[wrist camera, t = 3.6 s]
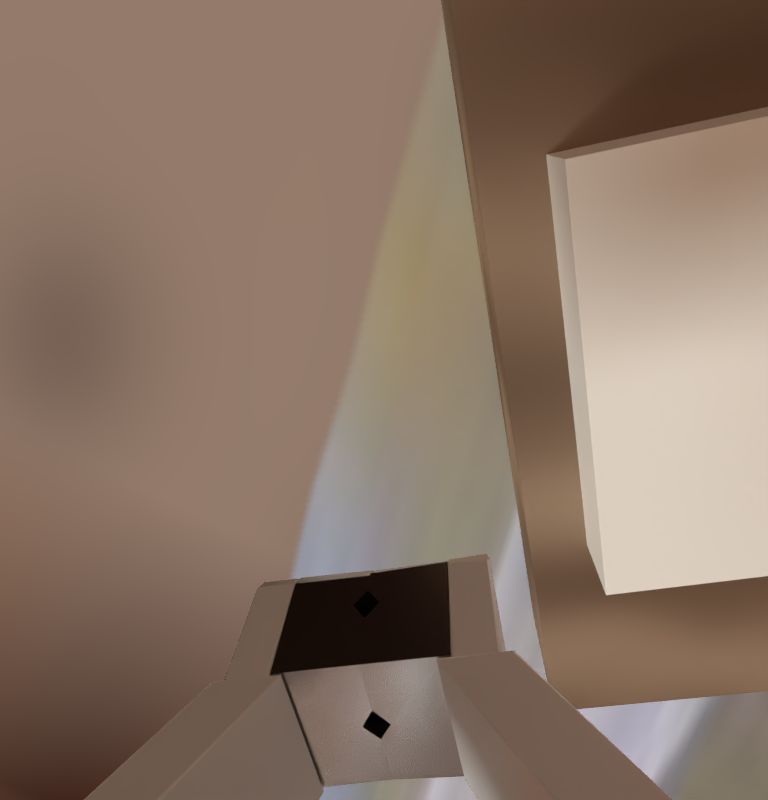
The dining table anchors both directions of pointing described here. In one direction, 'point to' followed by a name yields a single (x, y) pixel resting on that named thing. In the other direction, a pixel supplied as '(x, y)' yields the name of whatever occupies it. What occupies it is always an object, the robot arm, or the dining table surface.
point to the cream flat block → (669, 348)
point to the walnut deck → (543, 316)
